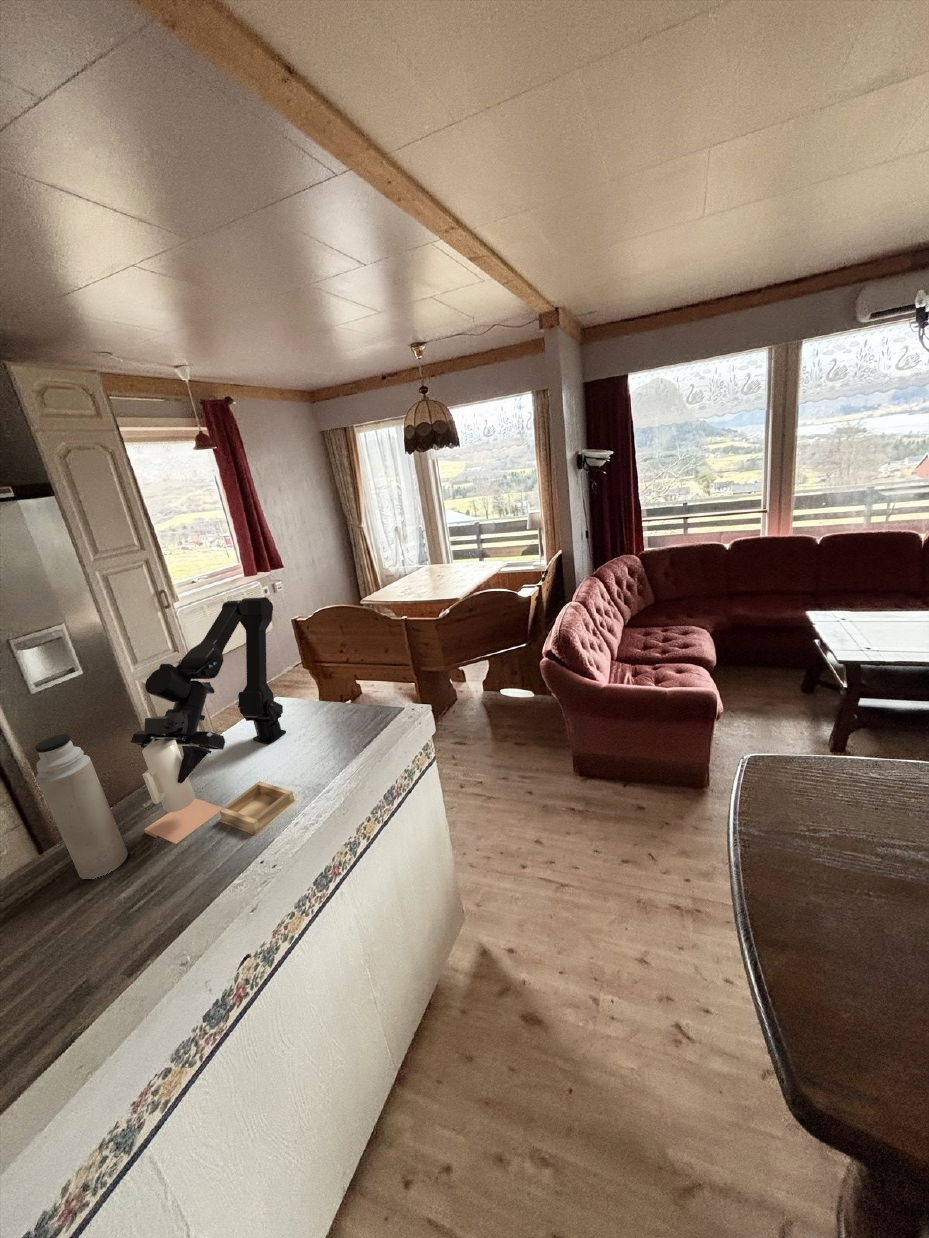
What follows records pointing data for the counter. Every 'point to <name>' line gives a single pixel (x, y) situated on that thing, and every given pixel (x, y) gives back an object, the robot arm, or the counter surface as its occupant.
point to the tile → (182, 821)
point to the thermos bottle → (79, 807)
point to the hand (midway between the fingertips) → (166, 782)
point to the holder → (257, 807)
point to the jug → (166, 775)
